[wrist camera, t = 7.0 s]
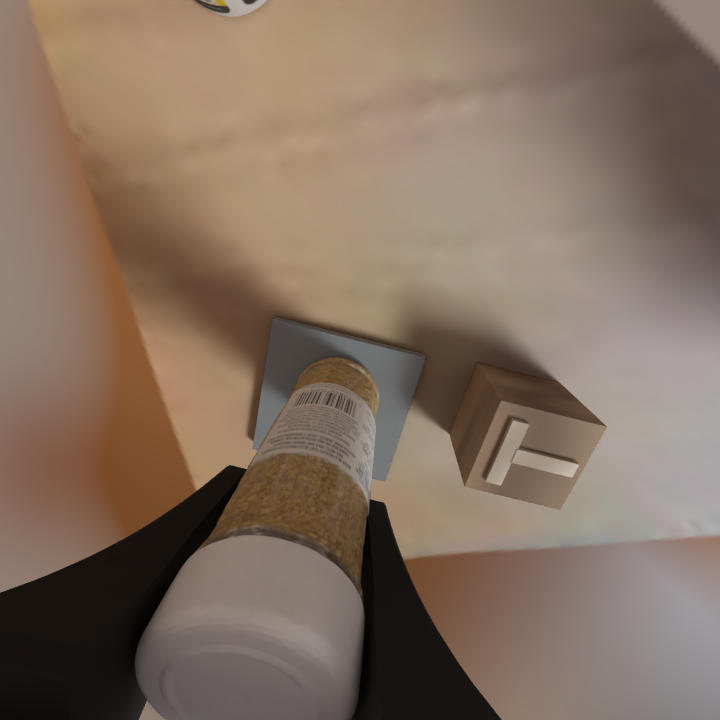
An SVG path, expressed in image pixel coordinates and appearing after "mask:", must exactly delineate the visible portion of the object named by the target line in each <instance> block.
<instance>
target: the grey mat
mask: <svg viewBox="0 0 720 720" xmlns="http://www.w3.org/2000/svg"><path fill="white" fill-rule="evenodd" d="M325 358H343V359H348V360H351V361H354V362H356V363H358V364H360V365H361V366H362V367H364V368H365V369H366V370H367V371H368V372H369V373H370V374H371V376H372V377H373V379H374V380H375V382H376V385H377V387H378V389H379V407H378V410H377V412H376V419H375V426H376V434H375V446H374V458H373V468H372V479H376V480H380V481H384V482H385V481H386V478H387V475H388V472H389V469H390V466H391V463H392V460H393V457H394V454H395V451H396V447H397V444H398V441H399V438H400V435H401V432H402V429H403V426H404V423H405V420H406V417H407V414H408V411H409V408H410V405H411V402H412V399H413V395H414V392H415V389H416V386H417V383H418V380H419V377H420V374H421V371H422V368H423V365H424V362H425V359H426V357H425V354H423V353H419V352H415V351H411V350H407V349H403V348H399V347H395V346H391V345H387V344H383V343H379V342H375V341H371V340H367V339H363V338H359V337H355V336H351V335H347V334H343V333H339V332H335V331H331V330H327V329H323V328H319V327H315V326H311V325H307V324H303V323H299V322H295V321H291V320H287V319H283V318H279V317H275V318H273V319H272V325H271V331H270V338H269V344H268V351H267V357H266V364H265V370H264V377H263V383H262V390H261V396H260V403H259V409H258V416H257V422H256V429H255V435H254V442H253V448H252V449H255V450H258V448H259V446H260V444H261V443H262V441H263V439H264V438H265V436H266V434H267V433H268V431H269V429H270V427H271V426H272V424H273V423H274V421H275V419H276V418H277V416H278V414H279V413H280V411H281V410H282V409H283V408H284V406H285V405H286V403H287V402H288V400H289V398H290V396H291V395H292V393H293V391H294V390H295V386H296V384H297V381H298V378H299V376H300V375H301V373H302V372H303V371H304V370H305V369H306V368H308V367H309V366H310V365H311V364H313V363H315V362H317V361H319V360H322V359H325Z"/></svg>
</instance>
